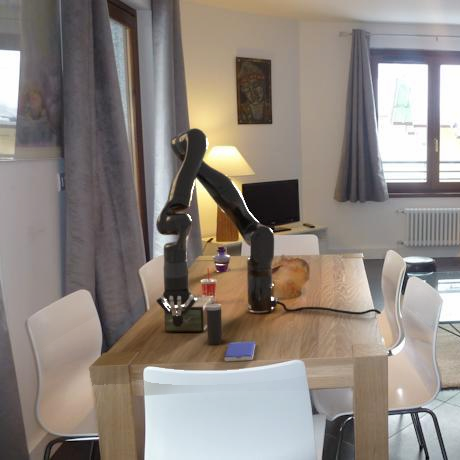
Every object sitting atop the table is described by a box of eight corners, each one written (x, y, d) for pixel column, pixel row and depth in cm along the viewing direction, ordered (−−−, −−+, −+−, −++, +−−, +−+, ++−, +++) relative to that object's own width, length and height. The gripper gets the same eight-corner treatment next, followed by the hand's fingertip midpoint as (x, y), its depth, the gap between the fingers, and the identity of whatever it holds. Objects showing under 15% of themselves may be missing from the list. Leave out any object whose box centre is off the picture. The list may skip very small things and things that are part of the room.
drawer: (197, 335, 208) (196, 315, 207) (161, 335, 207) (160, 315, 206) (211, 318, 226) (210, 299, 225) (178, 318, 225) (177, 299, 224)
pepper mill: (223, 340, 207) (222, 303, 204) (220, 344, 202) (219, 307, 200) (209, 340, 206) (208, 303, 204) (206, 345, 202) (205, 307, 200)
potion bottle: (234, 268, 307) (233, 244, 305) (227, 272, 298) (226, 248, 296) (217, 268, 308) (216, 244, 306) (209, 272, 299) (208, 247, 297)
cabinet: (203, 332, 214) (202, 307, 213) (165, 332, 213) (164, 307, 212) (214, 318, 229) (213, 295, 227) (178, 318, 228) (177, 295, 226)
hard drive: (228, 342, 200) (224, 356, 188) (255, 341, 202) (252, 355, 190) (228, 347, 200) (224, 361, 188) (255, 346, 202) (252, 360, 190)
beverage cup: (219, 300, 252) (218, 266, 250) (213, 304, 246) (212, 270, 244) (205, 299, 253) (204, 265, 250) (198, 304, 247) (197, 269, 244)
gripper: (151, 276, 199) (153, 329, 202) (193, 277, 200) (195, 329, 203) (159, 271, 207) (161, 322, 209) (200, 272, 208) (201, 322, 210)
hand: (178, 325), depth 206 cm, fingers closed
